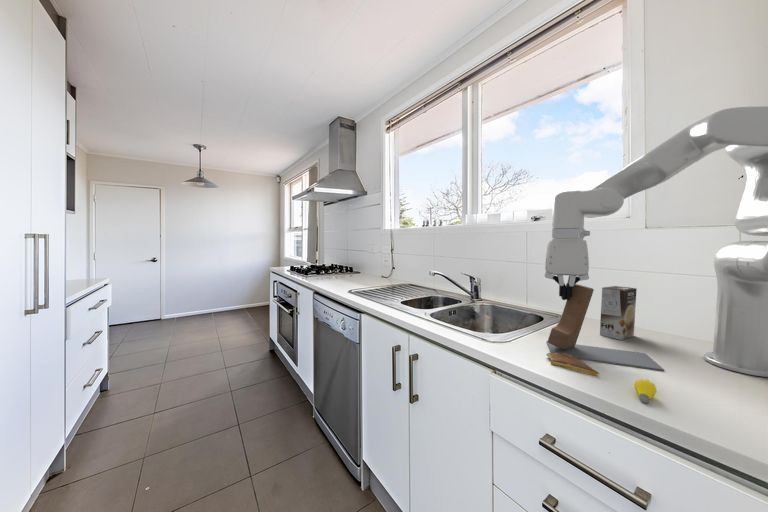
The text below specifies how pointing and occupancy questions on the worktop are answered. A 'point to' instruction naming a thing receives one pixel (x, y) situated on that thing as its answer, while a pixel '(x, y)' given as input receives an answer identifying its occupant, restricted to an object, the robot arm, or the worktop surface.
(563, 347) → the wooden block
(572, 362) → the sandwich
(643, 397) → the light bulb
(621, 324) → the coffee box
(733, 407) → the worktop surface
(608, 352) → the mat
